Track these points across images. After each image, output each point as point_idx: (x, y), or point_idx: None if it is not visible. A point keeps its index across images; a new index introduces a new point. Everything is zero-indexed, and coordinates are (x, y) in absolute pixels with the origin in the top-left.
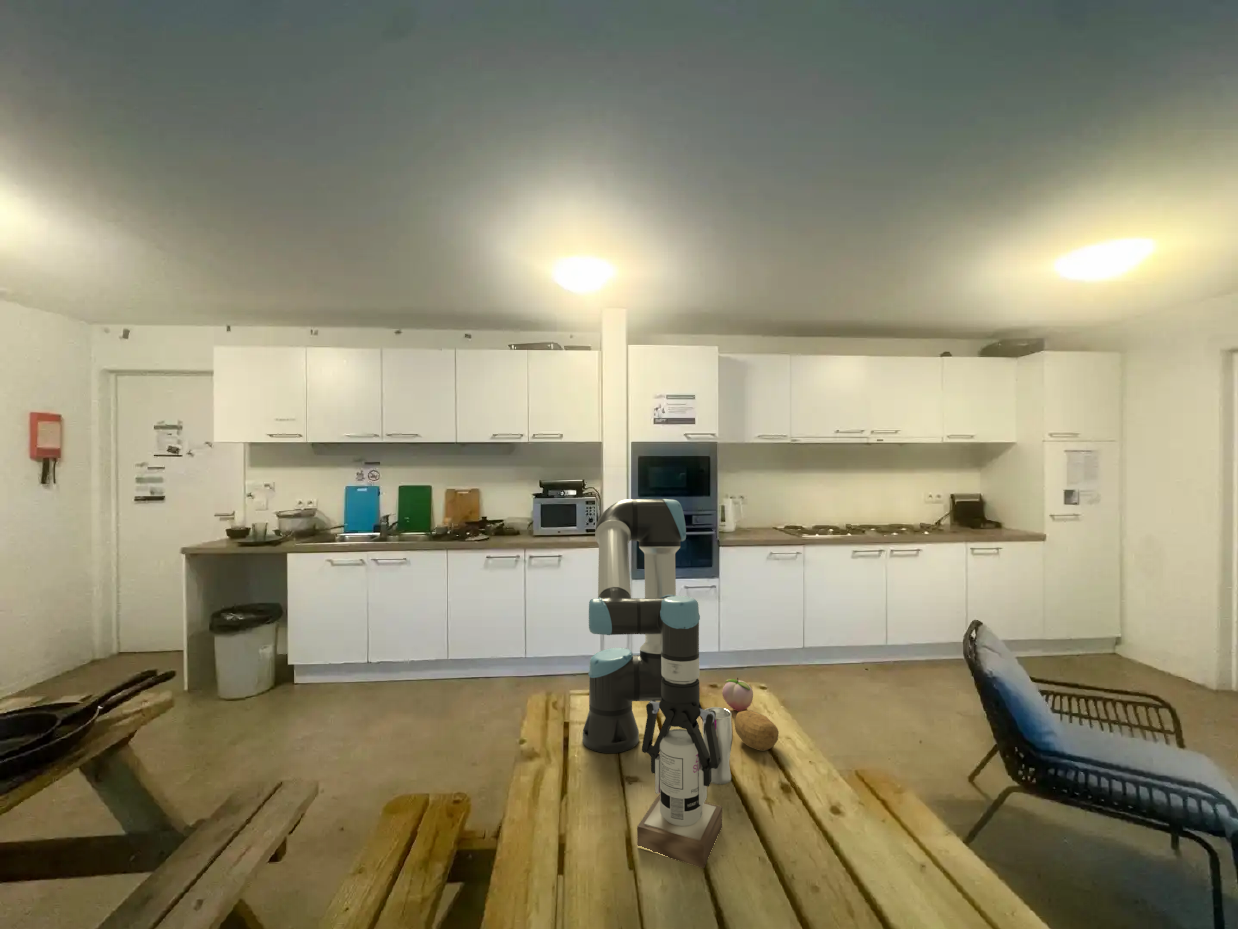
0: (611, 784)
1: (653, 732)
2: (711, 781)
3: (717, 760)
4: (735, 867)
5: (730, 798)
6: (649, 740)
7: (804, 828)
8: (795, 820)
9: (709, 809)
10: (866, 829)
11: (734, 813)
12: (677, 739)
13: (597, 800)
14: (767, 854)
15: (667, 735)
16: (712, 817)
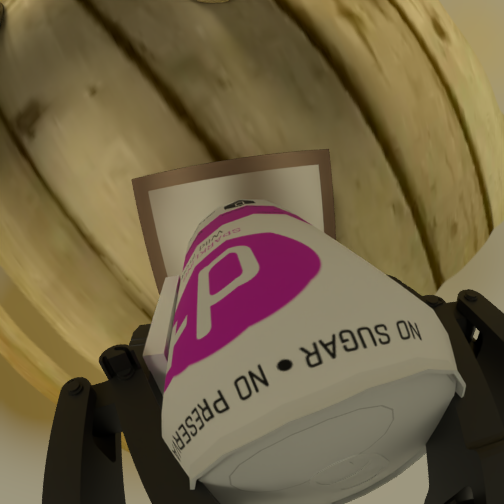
0: (8, 171)
1: (86, 467)
2: (209, 1)
3: (478, 347)
4: (365, 256)
5: (279, 35)
6: (118, 472)
7: (427, 88)
8: (411, 69)
9: (308, 188)
10: (473, 69)
11: (312, 86)
12: (325, 487)
13: (22, 241)
14: (402, 190)
15: (229, 499)
16: (324, 211)
